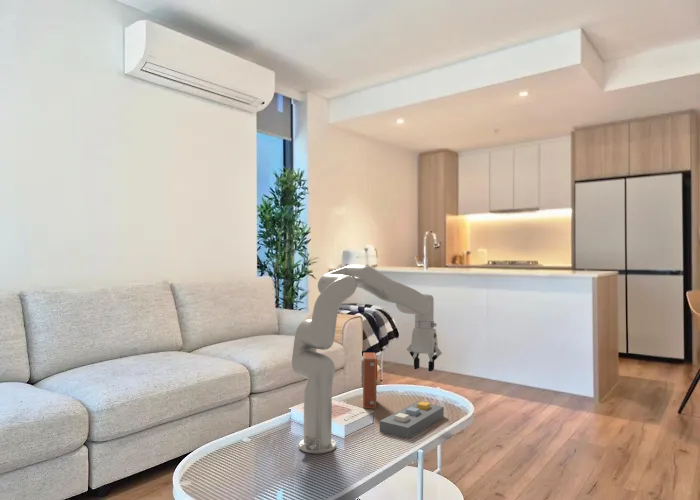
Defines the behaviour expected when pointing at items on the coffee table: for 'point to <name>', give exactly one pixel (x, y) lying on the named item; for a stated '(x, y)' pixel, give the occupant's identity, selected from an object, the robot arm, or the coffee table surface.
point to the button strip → (411, 421)
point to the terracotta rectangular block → (369, 379)
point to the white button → (401, 417)
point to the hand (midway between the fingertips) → (423, 369)
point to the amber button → (423, 405)
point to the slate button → (413, 411)
